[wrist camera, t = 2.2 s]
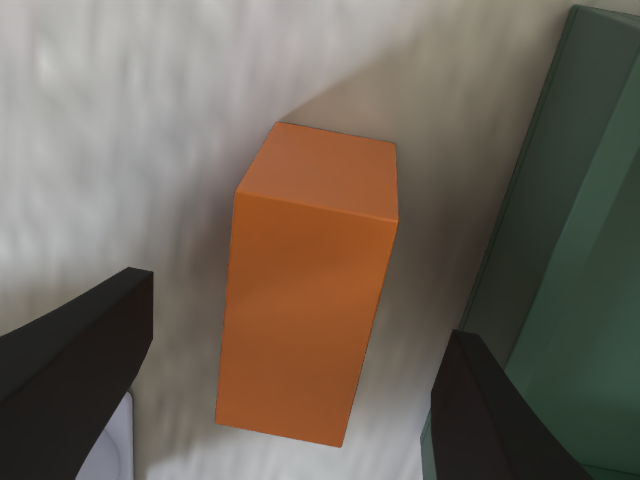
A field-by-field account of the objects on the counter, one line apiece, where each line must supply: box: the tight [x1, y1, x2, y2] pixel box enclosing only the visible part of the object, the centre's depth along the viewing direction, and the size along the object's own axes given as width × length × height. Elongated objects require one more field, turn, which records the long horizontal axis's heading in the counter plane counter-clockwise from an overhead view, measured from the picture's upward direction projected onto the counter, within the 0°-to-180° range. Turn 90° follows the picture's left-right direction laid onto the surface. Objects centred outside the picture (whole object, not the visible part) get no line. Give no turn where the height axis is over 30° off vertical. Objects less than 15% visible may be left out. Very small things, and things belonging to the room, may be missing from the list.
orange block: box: [215, 122, 399, 448], centre depth 15 cm, size 4×7×5 cm, turn 171°
